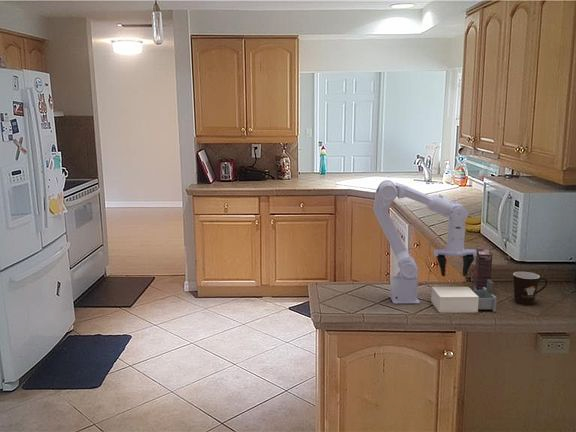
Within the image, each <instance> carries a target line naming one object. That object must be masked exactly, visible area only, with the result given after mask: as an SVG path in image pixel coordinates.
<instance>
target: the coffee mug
mask: <svg viewBox="0 0 576 432" xmlns="http://www.w3.org/2000/svg"><path fill="white" fill-rule="evenodd" d="M512 276H513V296H514V297H513V298H514V299H513V300H514V303H516V304H518V305H522V306H533V305H534V304H535V299H536V296H537V294H538V293H540V292H541V291H543V290H544V289H545V288H546V287H547V286H548V279H546V278H544V277H541V276H540V275H539V274H536V273H535V272H529V271H528V272H527V271H515V272H513V274H512ZM543 280H544V282H545V284H544V285H543V287H541V288H540V289H538V286H539V282H540V281H543Z"/></svg>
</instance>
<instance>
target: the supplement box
mask: <svg viewBox="0 0 576 432" xmlns="http://www.w3.org/2000/svg"><path fill="white" fill-rule="evenodd" d="M475 250H476V251H477V254H476V256H475V267H474V277H473V278H474V279H473V280H474V281H473V290H483V287H485V288H487V279H489V280H491V278H492V266H493V265H492V264H493V254H492V252H491V251H490V250H489V249H483V248H482V249H481V248H480V249H479V248H476V249H475ZM491 281H492V280H491Z"/></svg>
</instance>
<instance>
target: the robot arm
mask: <svg viewBox="0 0 576 432" xmlns="http://www.w3.org/2000/svg"><path fill="white" fill-rule="evenodd" d="M396 198H397V199H399V200H400V199H404V198H407V199H410V200H413V201H415V202H418V203H421V204H422V205H423V204H424V205H426V206H427V209H428V210H429V211H431V212H433V213H436V214H438V215H441V216H443V217H446V218H448V224H447V238H446V242H447V243H446V248H440V249H433V255H434V256H435V257H436V259H437V262H438V265H439V269H440V273H441V277H446V265H447V258H446V256H448V257H449V256H450V257H451V256H452V257H454V256H459V257H460V256H462V275H463V276H464V277H467V275H468V272H469V269H470V266H471V265H472V264H473V262H474V261H475V257H476V254H477V251H476V250H477V249H472V248H471V249H469V248H465V237H466V235H465V234H466V220H467V218H468V216H469V213H468V211H467V209H466V207H464V205H462V204H461V203H459V202H456V201H455V200H450V199H447V198H445V197H444V196H443V195H442V194H433V195H430V196H429V195H428V194H425V193H423V192H421V191H419V190H418V189H414V188H412V187H410V186H408V185H404V184H401V183H399V182H393V181H391V180H387V179H385V180H383V181H381V182H380V183H379V184H378V186H377V189H376V190H375V196H374V202H373V213H374V216H375V217H376V219H377V221H378V224H379V225H380V227H381V230H382V232H383V234H384V236H385V238H386V240H387V242H388V245H389V246H390V247H391V248H390V249H391V250H392V252H393V254H394V257H395V258H396V261H397V266H398V269H399V271H398V273H397V275H394V276H391V277H390V284H389V298H390V300H391V301H392V303H393V304H421V302H420V299H418V282H419V280H418V279H419V275H418V273H419V267H418V265H417V264H416V260H415V258H414V257H412V256H411V255H410V254H409V252H408V250H407V248H406V246H405V244H404V242H403V240H402V237H401V236H400V233H399V231H398V229H397V227H396V225H395V224H394V222H393V219H392V217H391V214H390V213H389V209H390V206H391V204H392V203H393V202H394V201H395V200H396Z"/></svg>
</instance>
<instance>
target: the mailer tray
mask: <svg viewBox="0 0 576 432" xmlns="http://www.w3.org/2000/svg"><path fill="white" fill-rule="evenodd" d="M494 287H495V285H494V282H493V281H492V280H489V279H487V288H485V287H483V290H474V289H471V290H472V291H473V292H474V293H475V294H476V295H477V296H478V297H479V301H478V310H490V311H492V312H497V296H496V295H494Z"/></svg>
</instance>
